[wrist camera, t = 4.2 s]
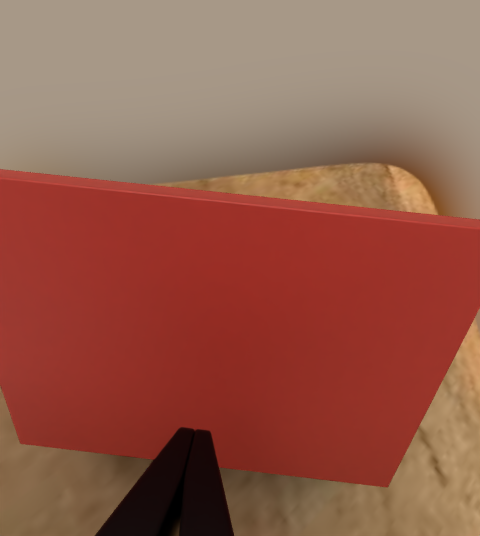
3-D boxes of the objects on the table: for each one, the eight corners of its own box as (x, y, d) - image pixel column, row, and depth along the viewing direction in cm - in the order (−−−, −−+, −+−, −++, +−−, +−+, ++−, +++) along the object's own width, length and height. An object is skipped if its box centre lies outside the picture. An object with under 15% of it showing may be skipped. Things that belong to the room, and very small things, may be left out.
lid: (-49, 163, 9) (-76, 169, 8) (499, 221, 9) (520, 232, 8) (32, 426, 14) (19, 444, 13) (381, 467, 14) (388, 487, 13)
